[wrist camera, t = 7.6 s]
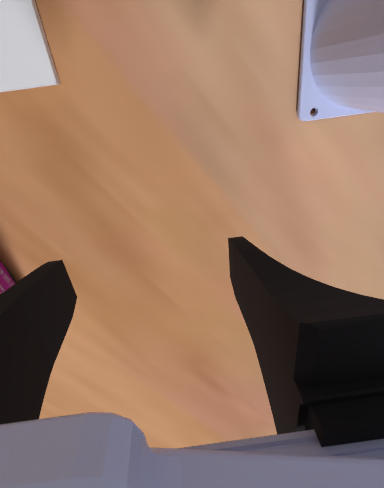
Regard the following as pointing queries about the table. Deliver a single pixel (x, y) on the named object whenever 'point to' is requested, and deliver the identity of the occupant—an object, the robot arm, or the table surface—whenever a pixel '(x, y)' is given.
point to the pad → (24, 48)
